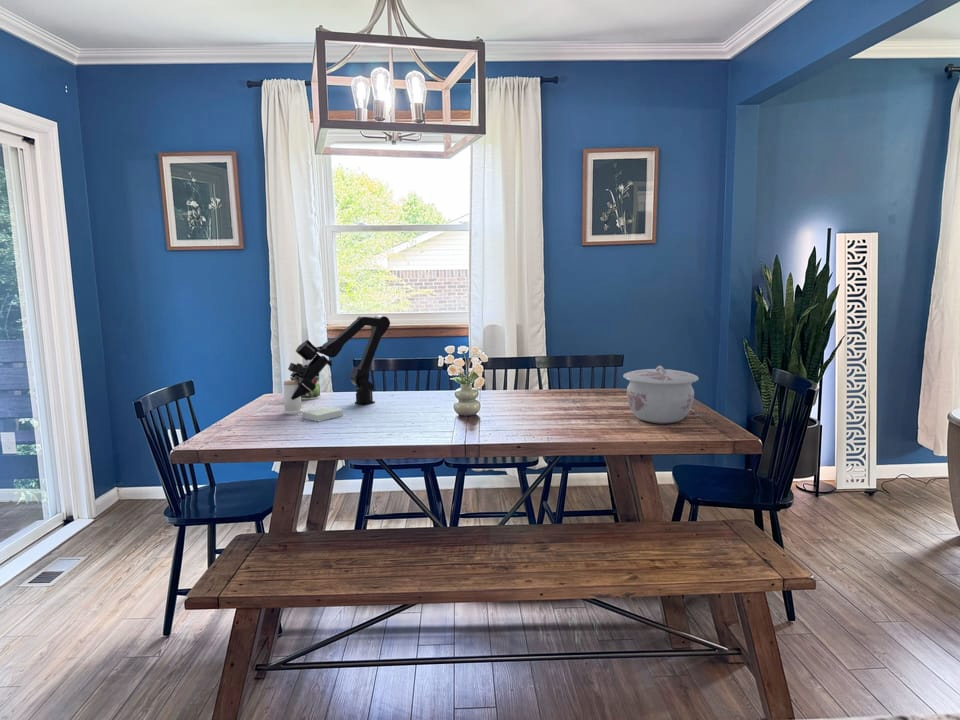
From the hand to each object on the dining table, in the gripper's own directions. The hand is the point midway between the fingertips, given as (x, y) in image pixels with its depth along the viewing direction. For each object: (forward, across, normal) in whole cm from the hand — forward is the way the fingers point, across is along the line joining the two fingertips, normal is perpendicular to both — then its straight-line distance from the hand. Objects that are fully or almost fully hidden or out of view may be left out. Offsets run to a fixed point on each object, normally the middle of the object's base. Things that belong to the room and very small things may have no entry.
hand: (289, 397), depth 258 cm
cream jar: (+4, 0, +6) cm, 7 cm away
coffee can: (-6, -26, +15) cm, 30 cm away
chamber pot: (-78, +89, +87) cm, 147 cm away
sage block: (-2, +14, +11) cm, 18 cm away
